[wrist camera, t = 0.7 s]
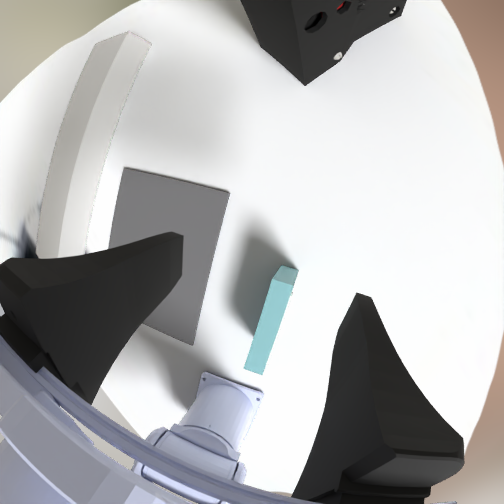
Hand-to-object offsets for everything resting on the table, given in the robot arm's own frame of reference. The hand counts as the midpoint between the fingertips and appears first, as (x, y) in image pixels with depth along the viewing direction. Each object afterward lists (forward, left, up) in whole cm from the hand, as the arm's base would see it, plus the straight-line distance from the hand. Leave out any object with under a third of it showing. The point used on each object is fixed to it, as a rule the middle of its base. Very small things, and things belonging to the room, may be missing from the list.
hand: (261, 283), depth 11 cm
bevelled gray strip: (+4, +31, -18) cm, 36 cm away
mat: (-6, +15, -18) cm, 24 cm away
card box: (-7, 0, -18) cm, 19 cm away
